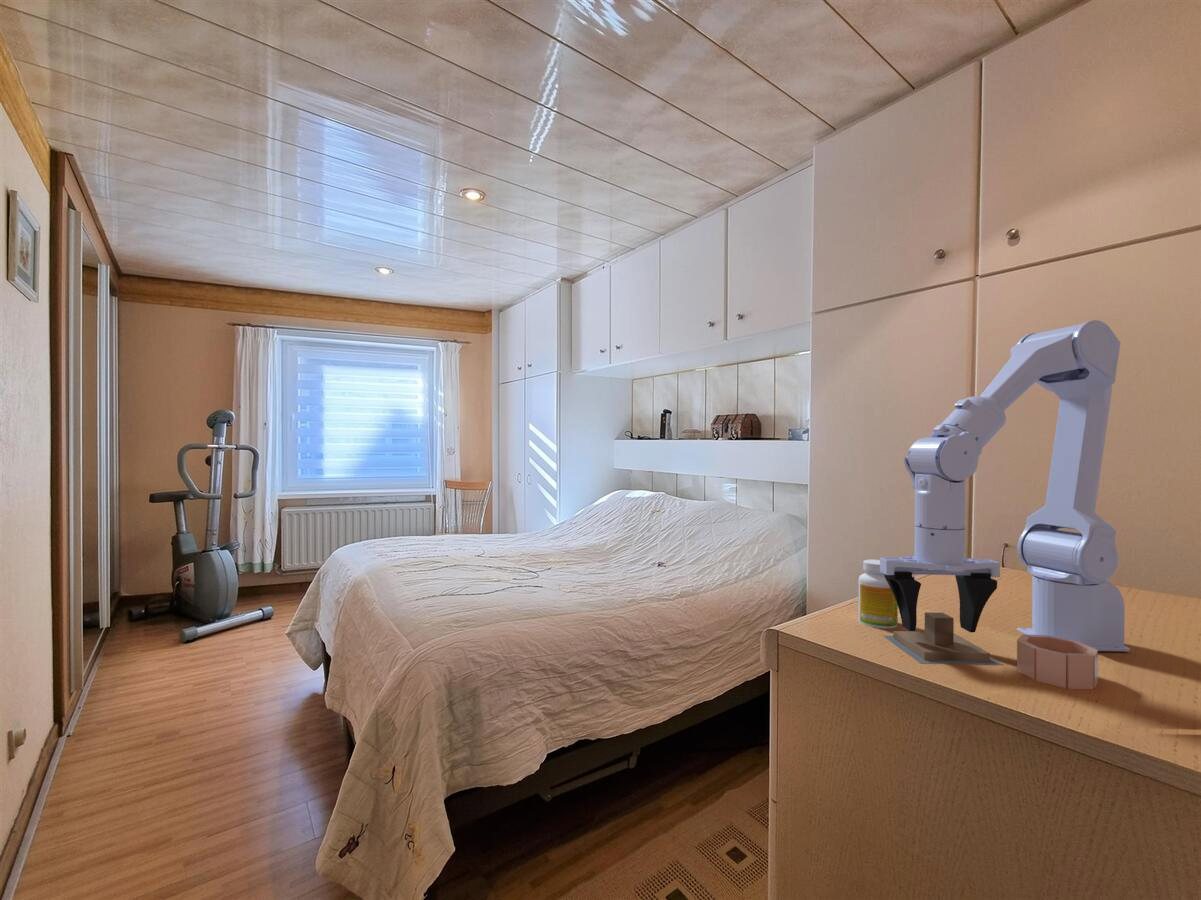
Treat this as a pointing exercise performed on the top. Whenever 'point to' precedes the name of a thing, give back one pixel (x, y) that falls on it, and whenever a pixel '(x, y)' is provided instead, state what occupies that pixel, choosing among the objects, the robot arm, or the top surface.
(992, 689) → the top surface
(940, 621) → the lid
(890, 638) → the mat
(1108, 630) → the robot arm
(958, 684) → the top surface
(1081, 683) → the bowl
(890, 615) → the supplement bottle
